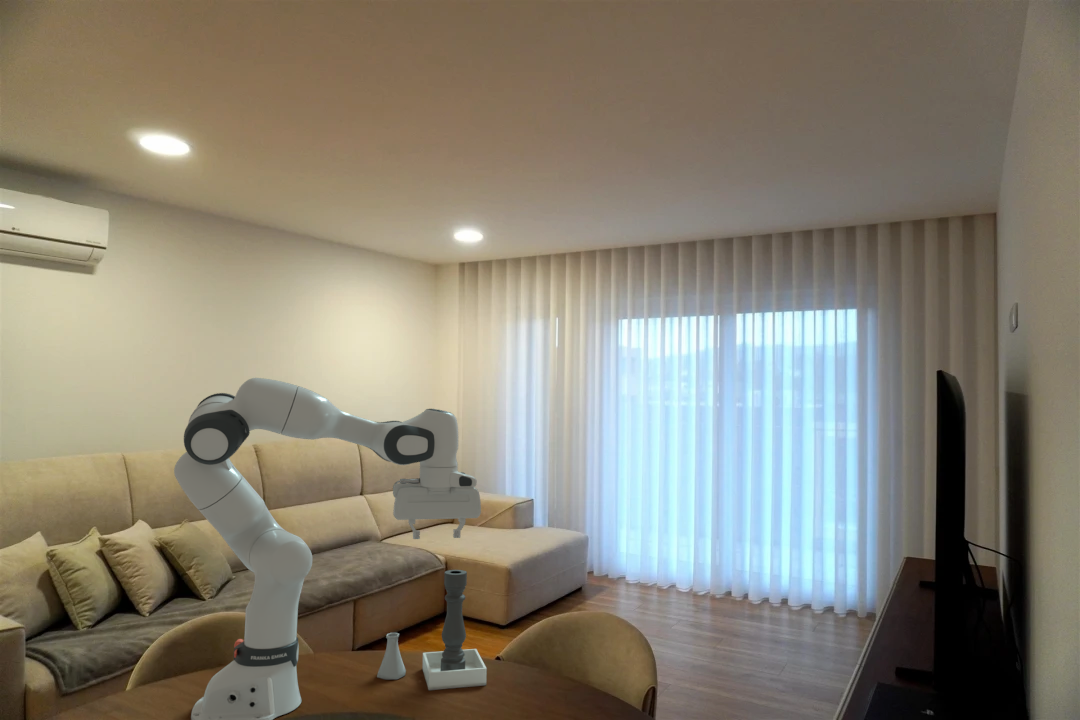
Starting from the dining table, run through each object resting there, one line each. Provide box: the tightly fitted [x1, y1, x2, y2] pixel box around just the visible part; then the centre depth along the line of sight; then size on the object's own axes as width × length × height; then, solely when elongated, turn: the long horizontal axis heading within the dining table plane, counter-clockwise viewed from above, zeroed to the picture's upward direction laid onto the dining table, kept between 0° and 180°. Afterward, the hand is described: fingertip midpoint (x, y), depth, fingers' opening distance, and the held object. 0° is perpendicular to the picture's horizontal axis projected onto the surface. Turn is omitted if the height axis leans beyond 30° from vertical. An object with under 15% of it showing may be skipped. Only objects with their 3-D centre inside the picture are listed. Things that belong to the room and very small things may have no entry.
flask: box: [376, 632, 407, 680], centre depth 176 cm, size 7×7×10 cm
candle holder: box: [441, 569, 468, 671], centre depth 177 cm, size 6×6×25 cm
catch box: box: [421, 648, 488, 691], centre depth 176 cm, size 14×14×4 cm
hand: (436, 538), depth 163 cm, fingers open, 8 cm apart
